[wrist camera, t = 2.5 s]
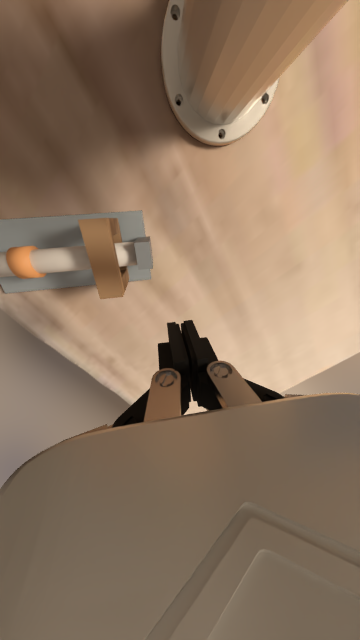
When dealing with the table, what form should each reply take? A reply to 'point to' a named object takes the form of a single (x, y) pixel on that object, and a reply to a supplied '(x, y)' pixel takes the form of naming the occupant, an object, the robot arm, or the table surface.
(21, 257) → the pipe stand
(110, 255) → the collar
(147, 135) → the table surface
